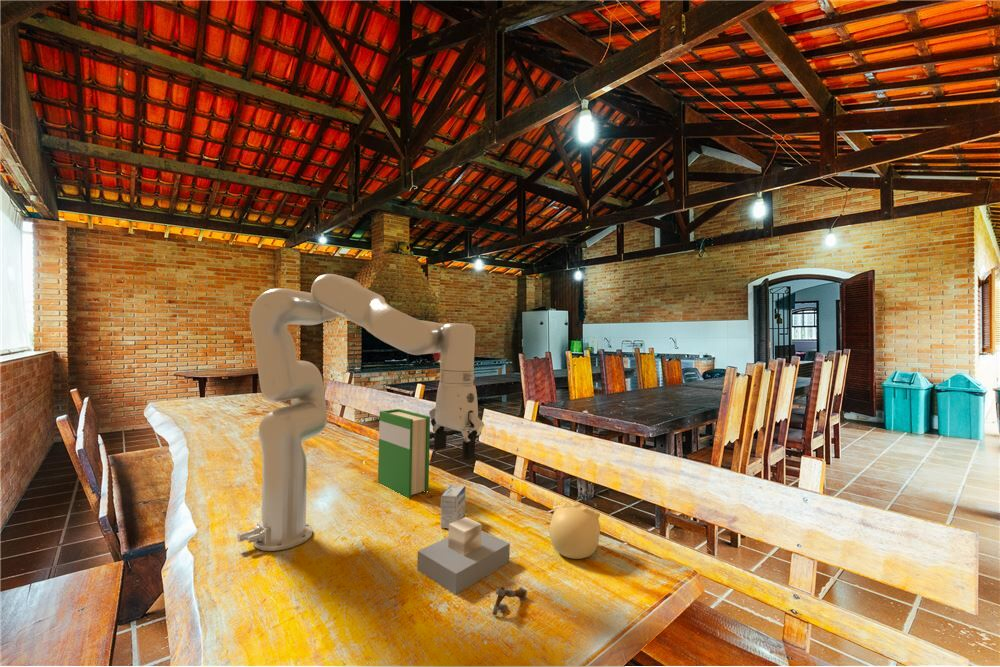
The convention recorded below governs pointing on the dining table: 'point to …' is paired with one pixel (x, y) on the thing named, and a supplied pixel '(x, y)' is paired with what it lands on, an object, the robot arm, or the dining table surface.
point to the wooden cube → (464, 536)
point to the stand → (462, 562)
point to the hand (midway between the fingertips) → (453, 453)
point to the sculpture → (574, 530)
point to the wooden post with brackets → (510, 593)
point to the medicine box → (452, 505)
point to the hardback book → (404, 451)
